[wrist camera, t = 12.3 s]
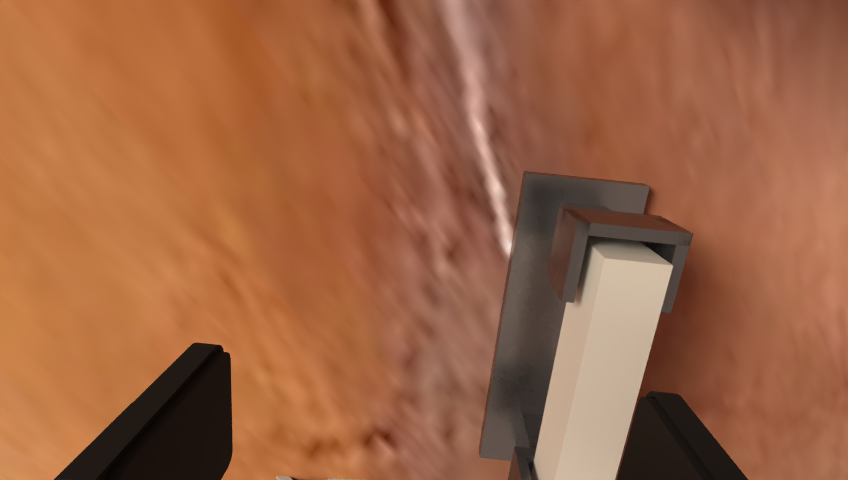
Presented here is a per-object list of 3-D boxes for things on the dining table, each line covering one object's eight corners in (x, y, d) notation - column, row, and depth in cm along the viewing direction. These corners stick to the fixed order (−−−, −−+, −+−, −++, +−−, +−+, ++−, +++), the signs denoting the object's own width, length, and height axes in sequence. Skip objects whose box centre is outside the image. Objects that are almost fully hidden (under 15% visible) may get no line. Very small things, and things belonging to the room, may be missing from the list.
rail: (580, 234, 32) (604, 258, 27) (638, 240, 32) (673, 265, 27) (527, 490, 39) (540, 546, 34) (576, 495, 39) (595, 552, 34)
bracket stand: (523, 171, 39) (556, 199, 28) (643, 183, 39) (723, 216, 28) (478, 448, 47) (490, 555, 36) (578, 459, 47) (620, 569, 36)
